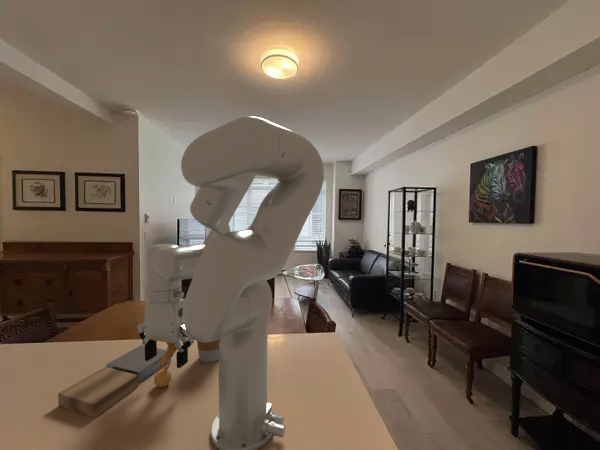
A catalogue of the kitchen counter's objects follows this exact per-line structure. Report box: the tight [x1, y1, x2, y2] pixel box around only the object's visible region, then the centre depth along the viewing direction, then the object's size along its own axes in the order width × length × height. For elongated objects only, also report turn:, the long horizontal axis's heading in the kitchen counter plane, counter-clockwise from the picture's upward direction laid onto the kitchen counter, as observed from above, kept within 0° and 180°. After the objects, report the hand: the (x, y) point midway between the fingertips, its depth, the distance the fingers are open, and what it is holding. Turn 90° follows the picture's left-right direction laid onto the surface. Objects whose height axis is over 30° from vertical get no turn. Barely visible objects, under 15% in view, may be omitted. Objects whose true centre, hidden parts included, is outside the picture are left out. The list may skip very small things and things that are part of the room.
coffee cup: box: [196, 339, 220, 364], centre depth 84 cm, size 8×8×15 cm
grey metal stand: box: [105, 344, 172, 384], centre depth 78 cm, size 11×11×3 cm
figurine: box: [153, 343, 178, 388], centre depth 70 cm, size 8×6×12 cm
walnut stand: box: [57, 366, 139, 418], centre depth 67 cm, size 11×11×3 cm
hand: (166, 361), depth 70 cm, fingers open, 9 cm apart
